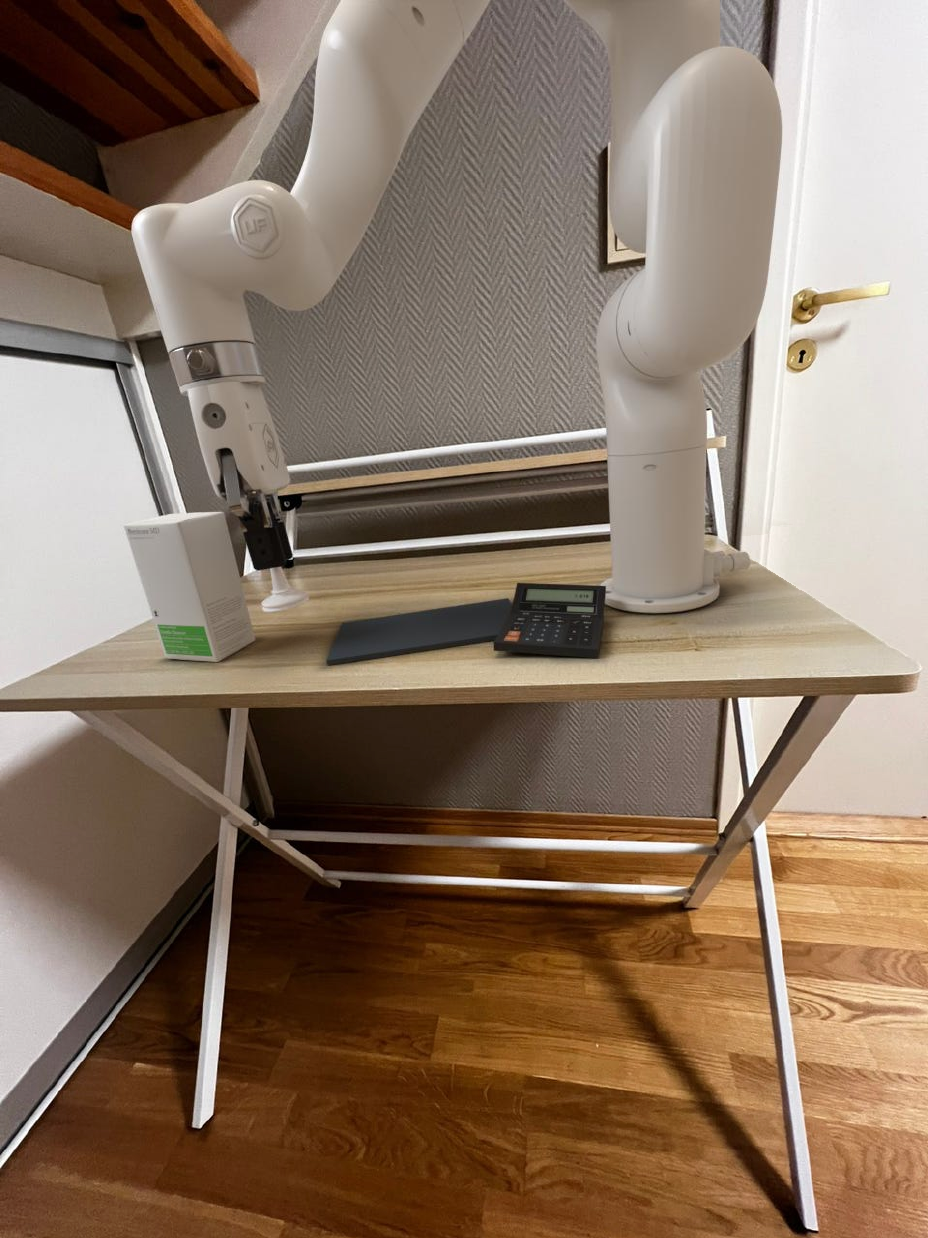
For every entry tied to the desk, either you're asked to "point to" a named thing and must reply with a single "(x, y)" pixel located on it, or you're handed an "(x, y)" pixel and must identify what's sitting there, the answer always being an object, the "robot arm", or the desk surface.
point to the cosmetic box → (192, 584)
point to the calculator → (554, 620)
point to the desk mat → (419, 631)
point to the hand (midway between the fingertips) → (274, 562)
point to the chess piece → (282, 594)
